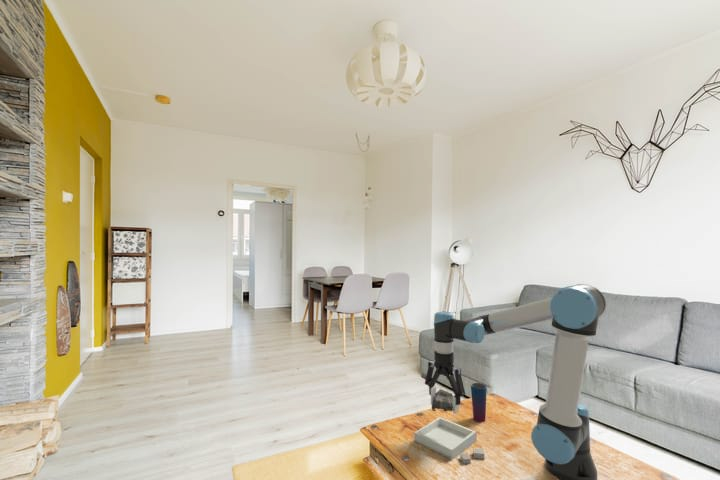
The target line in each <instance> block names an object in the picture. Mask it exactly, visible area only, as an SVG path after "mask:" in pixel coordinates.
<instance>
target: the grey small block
mask: <svg viewBox="0 0 720 480" xmlns="http://www.w3.org/2000/svg"><path fill="white" fill-rule="evenodd" d="M472 454H473V459H480V460H481V459H482V460H485V451H484V449H481V448H472Z"/></svg>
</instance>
